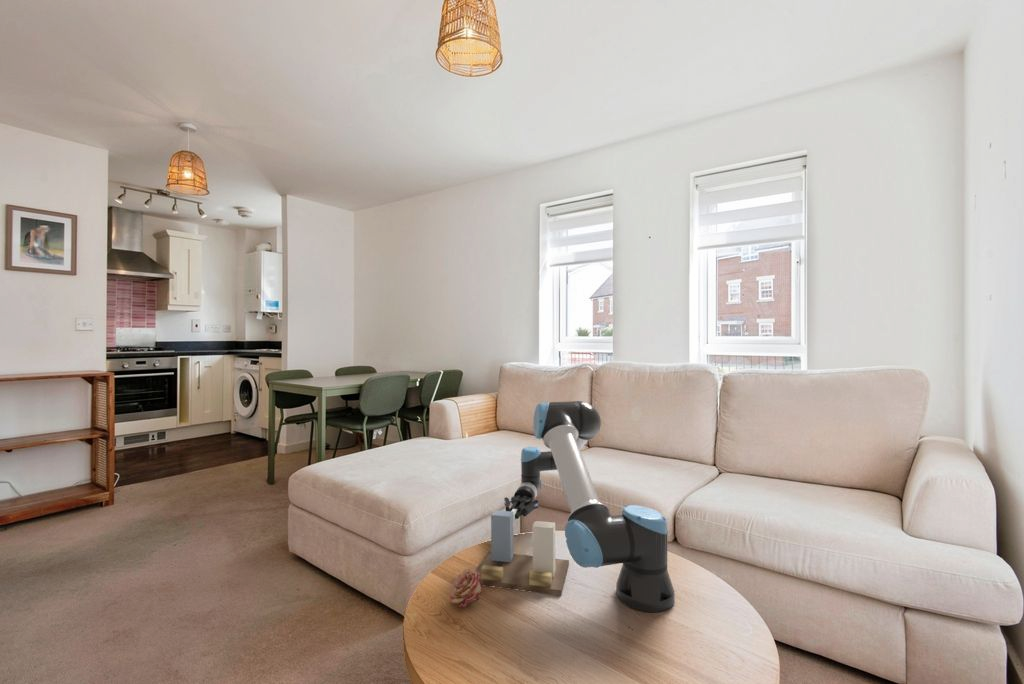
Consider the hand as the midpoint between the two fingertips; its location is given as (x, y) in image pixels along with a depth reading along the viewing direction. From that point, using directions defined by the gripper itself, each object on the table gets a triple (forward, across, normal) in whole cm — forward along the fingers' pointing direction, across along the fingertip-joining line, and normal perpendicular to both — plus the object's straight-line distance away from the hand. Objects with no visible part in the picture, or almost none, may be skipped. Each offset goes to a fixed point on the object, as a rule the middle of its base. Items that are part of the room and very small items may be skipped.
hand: (510, 520), depth 151 cm
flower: (+33, +4, -9) cm, 34 cm away
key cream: (+16, -14, -7) cm, 22 cm away
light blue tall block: (+11, 0, -8) cm, 13 cm away
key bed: (+15, -7, -9) cm, 19 cm away
